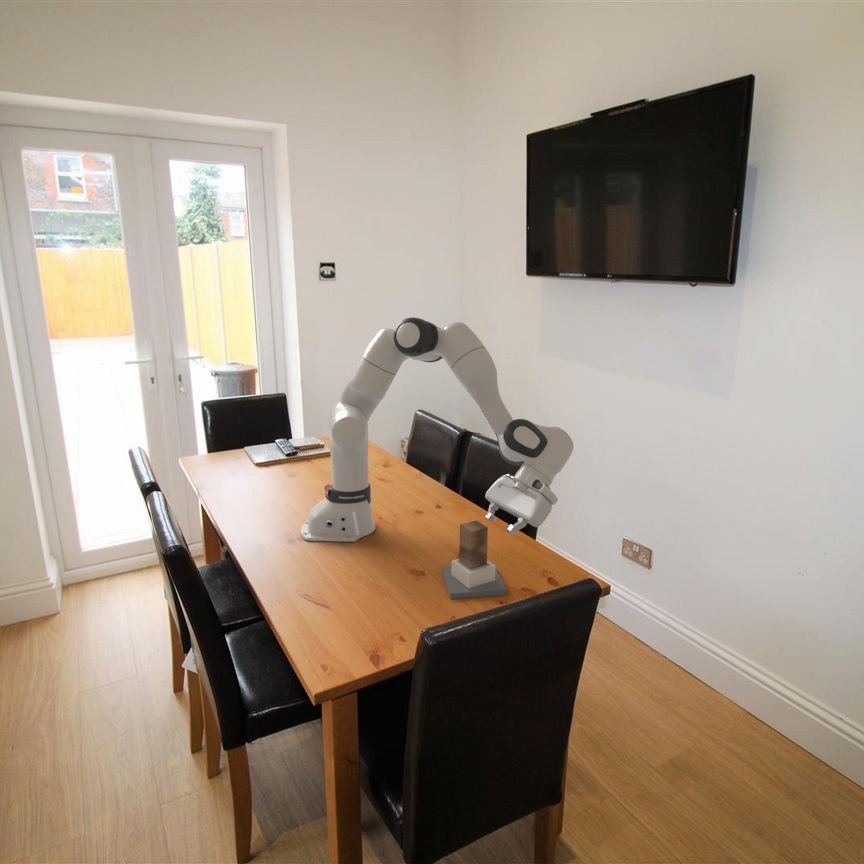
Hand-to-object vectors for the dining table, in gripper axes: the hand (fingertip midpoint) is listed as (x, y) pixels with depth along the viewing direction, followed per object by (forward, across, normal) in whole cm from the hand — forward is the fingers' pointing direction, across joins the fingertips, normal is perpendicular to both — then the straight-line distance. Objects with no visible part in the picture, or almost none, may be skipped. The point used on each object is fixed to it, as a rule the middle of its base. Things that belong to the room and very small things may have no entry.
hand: (498, 526), depth 157 cm
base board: (+15, 0, +4) cm, 16 cm away
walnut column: (+11, 0, 0) cm, 11 cm away
